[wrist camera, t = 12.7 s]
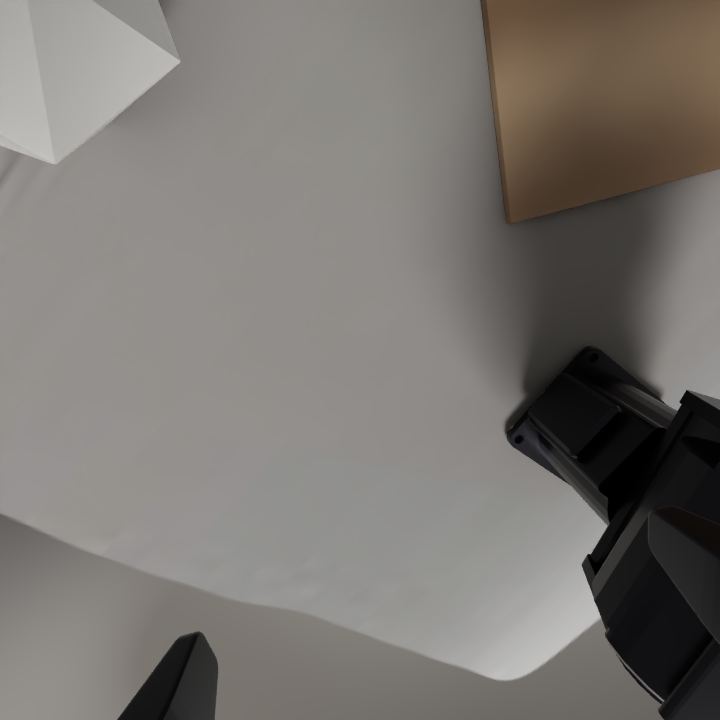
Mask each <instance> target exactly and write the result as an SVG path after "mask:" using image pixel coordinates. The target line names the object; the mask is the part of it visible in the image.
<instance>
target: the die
mask: <svg viewBox="0 0 720 720" xmlns="http://www.w3.org/2000/svg"><path fill="white" fill-rule="evenodd" d="M180 62H181V60H180V58H179V55H178V52H177V50H176V47H175V44H174V42H173V39H172V36H171V33H170V31H169V28H168V25H167V23H166V20H165V17H164V15H163V12H162V9H161V6H160V4H159V1H158V0H0V146H3V147H6V148H9V149H12V150H14V151H17V152H20V153H23V154H26V155H28V156H31V157H34V158H37V159H40V160H43V161H45V162H48V163H51V164H54V165H56V164H57V163H59V162H60V161H61V160H62V159H64V158H65V157H66V156H68V155H69V154H70V153H72V152H73V151H74V150H76V149H77V148H78V147H79V146H81V145H82V144H83V143H85V142H86V141H87V140H89V139H90V138H91V137H93V136H94V135H95V134H96V133H98V132H99V131H100V130H102V129H103V128H104V127H106V126H107V125H108V124H109V123H110V122H111V121H113V120H114V119H115V118H116V117H117V116H118V115H120V114H121V113H122V112H123V111H124V110H125V109H126V108H128V107H129V106H130V105H131V104H132V103H133V102H135V101H136V100H137V99H138V98H139V97H140V96H142V95H143V94H144V93H145V92H146V91H147V90H149V89H150V88H151V87H152V86H153V85H154V84H156V83H157V82H158V81H159V80H160V79H161V78H162V77H164V76H165V75H166V74H167V73H168V72H169V71H171V70H172V69H173V68H174V67H175V66H176V65H178V64H179V63H180Z"/></svg>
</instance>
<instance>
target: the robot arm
mask: <svg viewBox="0 0 720 720" xmlns="http://www.w3.org/2000/svg"><path fill="white" fill-rule="evenodd" d="M591 354H593V357H592V358H591V359H590V360H589V356H590V355H591ZM680 403H681V404H682V405H681V406H680V408H679V410H678V411H676V410H675V409H673V408H671V407H669V406H668V405H666V404H665V403H664V402H663V401H661V400H660V399H659V398H658V397H657V396H655V395H654V394H653V393H652V392H651V391H649V390H648V389H647V388H646V387H645V386H643V385H642V384H641V383H640V382H639V381H637V380H636V379H635V378H634V377H632V376H631V375H630V374H629V373H628V372H626V371H625V370H624V369H623V368H622V367H620V366H619V365H618V364H617V363H616V362H614V361H613V360H612V359H611V358H610V357H608V356H607V355H606V354H605V353H603V352H602V351H601V350H599V349H597V348H595V347H593V346H588V347H585V348H584V349H583V350H582V351H581V352H580V353H579V354H578V355H577V356H576V357H575V359H574V360H573V361H572V362H571V363H570V364H569V365H568V366H567V367H566V369H565V370H564V371H563V372H562V373H561V374H560V375H559V376H558V377H557V378H556V379H555V380H554V382H553V383H552V384H551V385H550V386H549V387H548V388H547V389H546V390H545V392H544V393H543V394H542V395H541V396H540V397H539V398H538V399H537V400H536V402H535V403H534V404H533V405H532V406H531V407H530V408H529V410H528V411H527V412H526V413H525V414H524V415H523V416H522V417H521V419H520V420H519V421H518V422H517V423H516V424H515V425H514V426H513V428H512V429H511V430H510V431H509V432H508V434H507V440H508V442H509V443H510V444H511V445H512V446H513V447H514V448H516V449H517V450H519V451H520V452H522V453H523V454H525V455H526V456H528V457H529V458H531V459H532V460H534V461H535V462H536V463H538V464H539V465H541V466H542V467H544V468H545V469H547V470H548V471H550V472H551V473H553V474H554V475H556V476H557V477H559V478H560V479H562V480H563V481H565V482H566V483H568V484H569V485H571V486H572V487H573V489H574V490H575V491H576V492H577V493H578V494H579V495H580V496H581V497H582V498H583V499H584V501H585V502H586V503H587V504H588V505H589V506H590V507H591V508H592V509H593V510H594V511H595V513H596V514H597V515H598V516H599V517H600V518H601V519H602V520H603V521H604V522H605V523H606V524H607V526H608V527H607V529H606V530H605V532H604V533H603V535H602V537H601V538H600V540H599V542H598V543H597V545H596V547H595V548H594V550H593V552H592V553H591V554H588V555H587V556H586V558H585V560H584V561H583V563H582V567H583V570H584V573H585V575H586V578H587V581H588V583H589V586H590V589H591V591H592V594H593V597H594V601H595V603H596V605H597V607H598V610H599V613H600V615H601V618H602V621H603V623H604V626H605V629H606V632H605V636H606V639H607V641H608V643H609V645H610V646H611V648H612V649H613V650H614V652H615V653H616V655H617V656H618V658H619V659H620V661H621V662H622V664H623V666H624V667H625V669H626V670H627V671H628V672H629V673H630V674H631V675H632V677H633V678H634V679H635V680H636V681H637V683H638V684H639V685H640V686H641V687H642V688H644V689H645V690H646V691H647V692H648V693H649V694H650V695H651V696H652V697H653V698H654V699H655V700H657V701H658V702H659V703H660V704H661V706H660V707H659V709H658V711H659V713H660V715H661V716H662V718H663V719H664V720H720V400H719V399H716V398H712V397H709V396H706V395H702V394H699V393H696V392H692V391H689V390H686V392H685V394H684V395H683V397H682V399H681V400H680ZM519 435H520V438H519V439H517V440H514V439H515V438H516V437H517V436H519ZM217 679H218V663H217V659H216V657H215V655H214V653H213V651H212V649H211V647H210V645H209V644H208V642H207V640H206V638H205V636H204V635H203V633H201V632H194V633H190V634H187V635H183V636H181V637H179V638H178V639H177V640H176V641H175V642H174V644H173V645H172V646H171V648H170V649H169V650H168V652H167V653H166V654H165V656H164V657H163V658H162V660H161V661H160V662H159V664H158V665H157V667H156V668H155V669H154V671H153V672H152V673H151V675H150V676H149V677H148V679H147V680H146V682H145V683H144V684H143V686H142V687H141V688H140V690H139V691H138V692H137V694H136V695H135V696H134V698H133V699H132V700H131V702H130V703H129V704H128V706H127V707H126V709H125V710H124V711H123V713H122V714H121V715H120V717H119V718H118V719H117V720H215V706H216V694H217V693H216V692H217Z"/></svg>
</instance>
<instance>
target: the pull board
mask: <svg viewBox="0 0 720 720" xmlns="http://www.w3.org/2000/svg"><path fill="white" fill-rule="evenodd" d="M481 6H482V14H483V23H484V32H485V41H486V50H487V58H488V67H489V76H490V85H491V93H492V102H493V111H494V120H495V129H496V137H497V146H498V155H499V164H500V173H501V181H502V190H503V199H504V208H505V216H506V223H508V224H512V223H516V222H520V221H523V220H527V219H531V218H535V217H539V216H542V215H546V214H550V213H554V212H558V211H561V210H565V209H569V208H573V207H577V206H580V205H584V204H588V203H592V202H596V201H599V200H603V199H607V198H611V197H615V196H618V195H622V194H626V193H630V192H634V191H637V190H641V189H645V188H649V187H653V186H656V185H660V184H664V183H668V182H672V181H675V180H679V179H683V178H687V177H691V176H694V175H698V174H702V173H706V172H710V171H713V170H717V169H720V0H481Z"/></svg>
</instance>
